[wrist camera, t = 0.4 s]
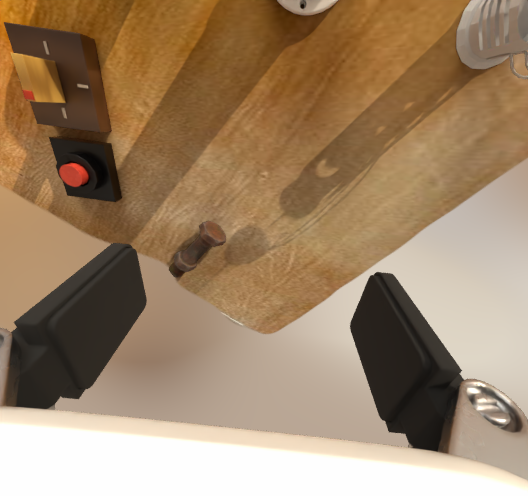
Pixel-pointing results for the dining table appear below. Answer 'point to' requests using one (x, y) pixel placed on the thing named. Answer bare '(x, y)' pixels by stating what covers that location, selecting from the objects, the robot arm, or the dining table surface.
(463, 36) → the french press
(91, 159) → the button box
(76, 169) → the red button
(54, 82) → the gold slab
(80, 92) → the plate
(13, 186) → the dining table surface
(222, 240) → the bolt
